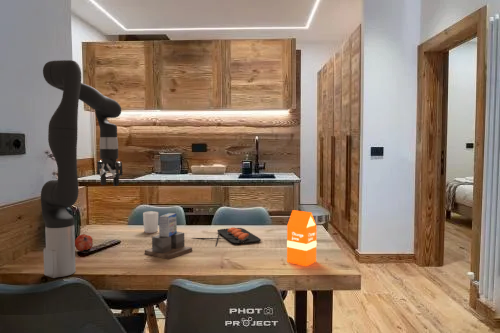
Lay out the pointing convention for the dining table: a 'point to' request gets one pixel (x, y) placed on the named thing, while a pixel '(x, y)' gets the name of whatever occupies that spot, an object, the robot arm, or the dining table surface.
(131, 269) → the dining table surface
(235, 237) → the sushi plate
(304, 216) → the orange juice
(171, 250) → the display stand
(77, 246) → the red tomato
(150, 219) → the white cup
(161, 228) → the medicine box
